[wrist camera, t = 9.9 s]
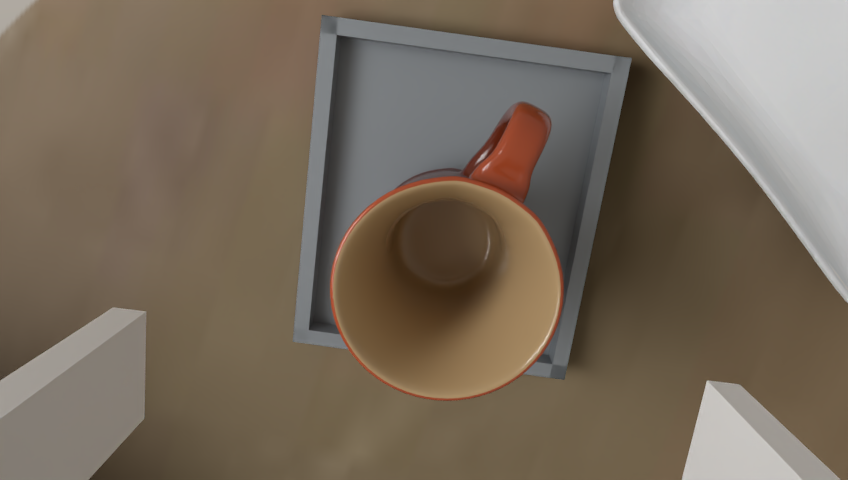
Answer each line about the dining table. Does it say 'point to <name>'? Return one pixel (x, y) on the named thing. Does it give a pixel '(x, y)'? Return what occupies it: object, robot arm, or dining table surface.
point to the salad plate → (767, 99)
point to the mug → (454, 272)
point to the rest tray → (450, 143)
